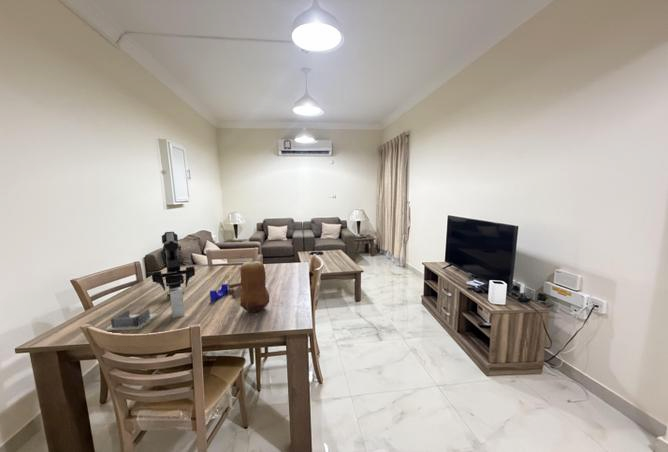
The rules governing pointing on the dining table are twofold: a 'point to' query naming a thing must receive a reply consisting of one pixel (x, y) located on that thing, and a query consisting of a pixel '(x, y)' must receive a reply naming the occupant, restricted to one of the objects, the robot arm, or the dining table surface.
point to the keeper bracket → (131, 320)
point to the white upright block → (177, 302)
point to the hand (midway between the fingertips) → (175, 288)
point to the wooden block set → (235, 288)
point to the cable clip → (219, 293)
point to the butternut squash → (253, 286)
